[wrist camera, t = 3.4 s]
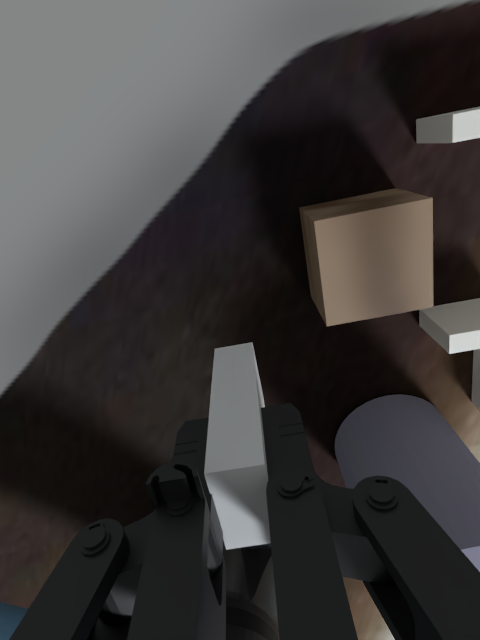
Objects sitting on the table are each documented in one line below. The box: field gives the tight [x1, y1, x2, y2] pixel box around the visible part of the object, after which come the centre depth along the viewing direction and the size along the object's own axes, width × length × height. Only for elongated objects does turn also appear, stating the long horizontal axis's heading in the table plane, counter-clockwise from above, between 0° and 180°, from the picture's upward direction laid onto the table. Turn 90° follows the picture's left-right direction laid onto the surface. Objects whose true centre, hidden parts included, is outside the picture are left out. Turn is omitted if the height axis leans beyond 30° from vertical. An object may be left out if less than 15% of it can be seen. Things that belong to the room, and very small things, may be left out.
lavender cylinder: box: [335, 394, 480, 572], centre depth 31 cm, size 10×10×15 cm
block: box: [299, 188, 433, 326], centre depth 28 cm, size 7×7×6 cm
